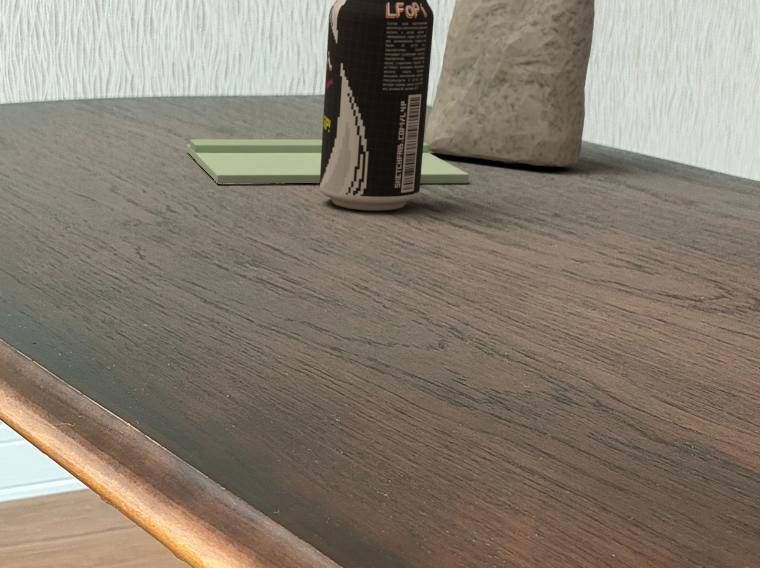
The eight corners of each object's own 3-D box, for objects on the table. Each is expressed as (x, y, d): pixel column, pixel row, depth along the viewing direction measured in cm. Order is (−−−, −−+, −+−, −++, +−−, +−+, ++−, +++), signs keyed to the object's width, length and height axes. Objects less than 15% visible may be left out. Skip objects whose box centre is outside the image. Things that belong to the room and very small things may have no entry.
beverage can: (329, 191, 87) (341, -23, 82) (424, 199, 85) (443, -19, 80) (309, 209, 81) (321, -19, 77) (410, 217, 80) (429, -14, 75)
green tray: (411, 152, 101) (413, 136, 101) (468, 183, 91) (470, 165, 90) (186, 152, 99) (186, 136, 98) (217, 184, 88) (217, 166, 87)
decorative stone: (593, 167, 98) (624, -74, 92) (545, 176, 94) (574, -75, 88) (460, 146, 105) (480, -79, 99) (410, 154, 101) (428, -80, 95)
